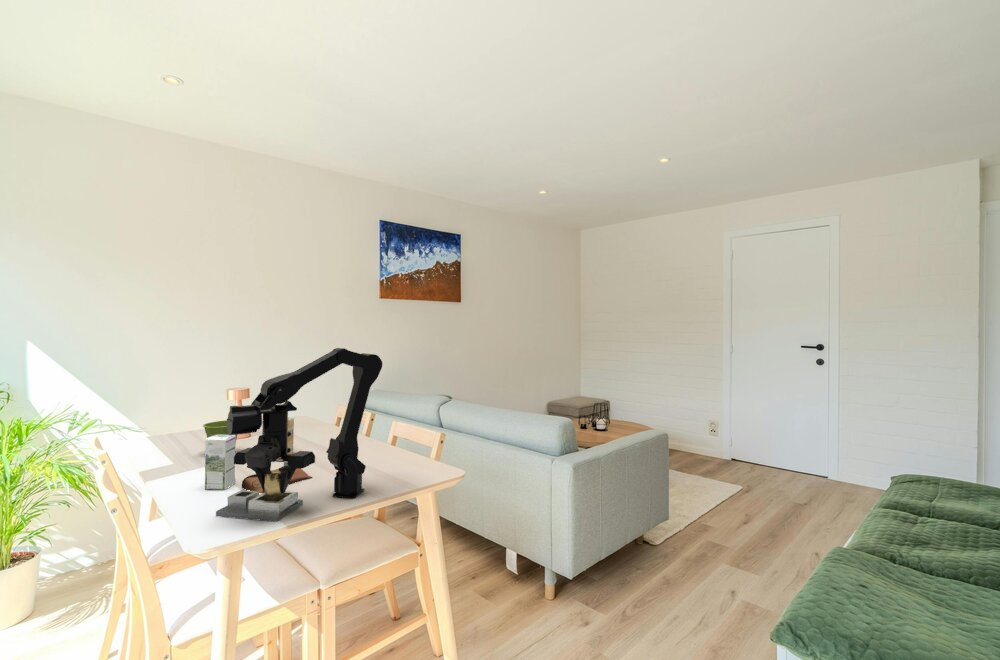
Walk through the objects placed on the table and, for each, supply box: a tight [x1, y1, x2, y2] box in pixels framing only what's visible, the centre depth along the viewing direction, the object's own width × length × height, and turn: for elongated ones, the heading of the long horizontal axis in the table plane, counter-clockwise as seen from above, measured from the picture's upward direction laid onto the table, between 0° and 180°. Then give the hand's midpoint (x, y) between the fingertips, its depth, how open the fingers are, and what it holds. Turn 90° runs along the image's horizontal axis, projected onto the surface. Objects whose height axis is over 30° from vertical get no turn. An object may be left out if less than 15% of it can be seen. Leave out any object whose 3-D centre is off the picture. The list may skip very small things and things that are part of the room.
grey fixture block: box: [215, 489, 304, 522], centre depth 117 cm, size 16×11×4 cm
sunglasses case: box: [241, 468, 313, 494], centre depth 138 cm, size 18×7×7 cm, turn 150°
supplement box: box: [287, 417, 295, 455], centre depth 165 cm, size 8×5×13 cm, turn 178°
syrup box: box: [204, 435, 237, 491], centre depth 133 cm, size 6×6×14 cm
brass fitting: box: [264, 469, 284, 502], centre depth 117 cm, size 4×4×7 cm
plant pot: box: [202, 419, 238, 446], centre depth 166 cm, size 12×12×11 cm
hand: (274, 492), depth 117 cm, fingers closed on brass fitting, 4 cm apart
